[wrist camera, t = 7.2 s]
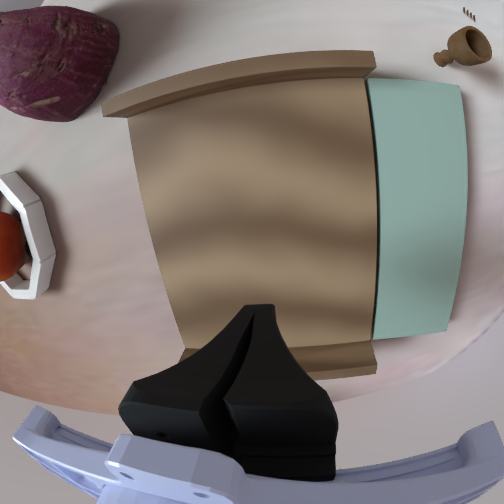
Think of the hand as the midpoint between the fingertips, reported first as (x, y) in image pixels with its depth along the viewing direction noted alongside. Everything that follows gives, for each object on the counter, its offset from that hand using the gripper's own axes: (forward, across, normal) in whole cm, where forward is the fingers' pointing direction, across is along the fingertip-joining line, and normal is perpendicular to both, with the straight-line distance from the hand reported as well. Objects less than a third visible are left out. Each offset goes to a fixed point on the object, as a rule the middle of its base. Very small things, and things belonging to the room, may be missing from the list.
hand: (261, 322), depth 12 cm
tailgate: (+8, -8, -2) cm, 11 cm away
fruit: (+9, +29, -4) cm, 30 cm away
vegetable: (+9, +15, -18) cm, 25 cm away
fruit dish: (+9, +29, -4) cm, 30 cm away
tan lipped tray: (+9, +1, -2) cm, 9 cm away
